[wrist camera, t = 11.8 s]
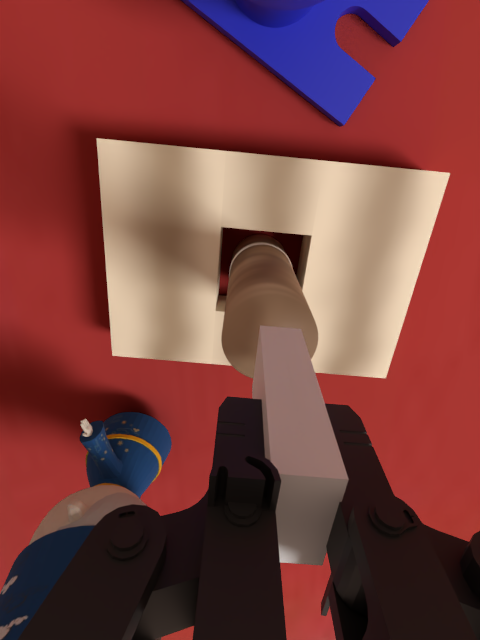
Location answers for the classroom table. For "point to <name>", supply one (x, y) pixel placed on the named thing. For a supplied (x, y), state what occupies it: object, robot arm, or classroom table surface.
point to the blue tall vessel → (84, 509)
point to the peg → (262, 301)
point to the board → (263, 215)
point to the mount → (309, 42)
